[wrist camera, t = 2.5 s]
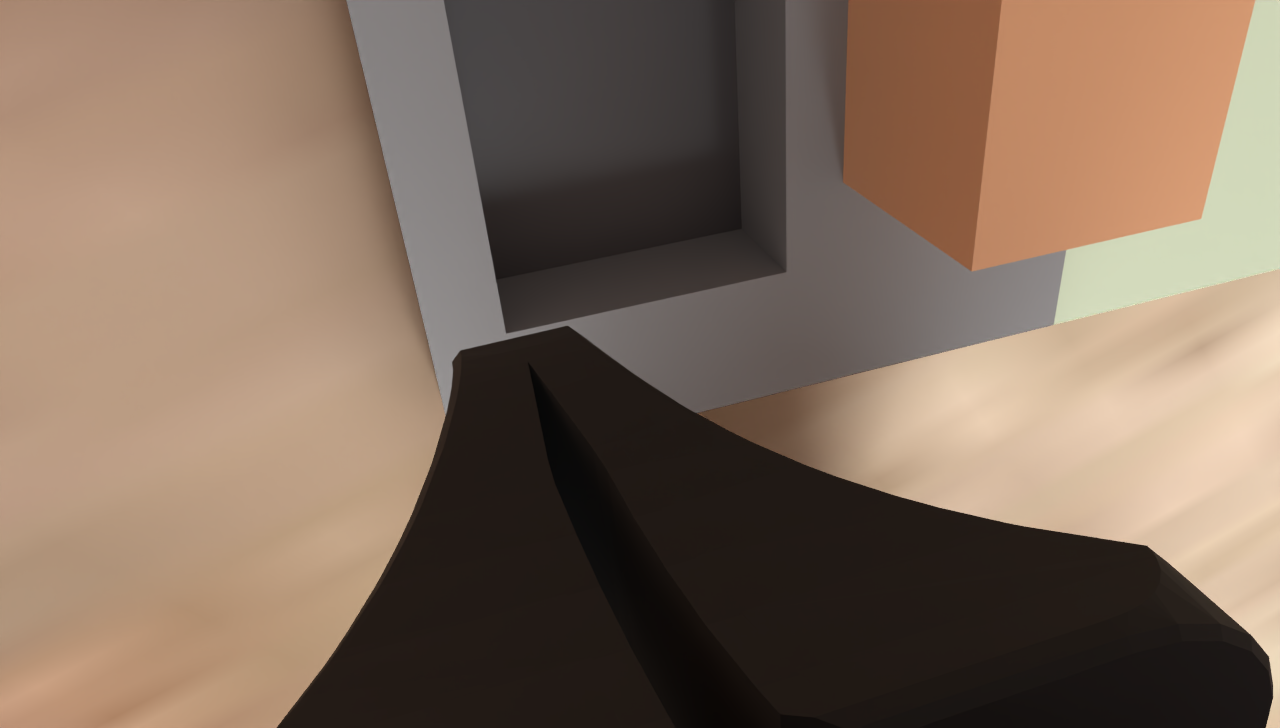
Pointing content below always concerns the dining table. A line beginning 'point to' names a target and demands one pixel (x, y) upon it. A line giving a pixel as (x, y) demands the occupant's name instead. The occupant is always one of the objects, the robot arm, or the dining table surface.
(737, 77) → the trap deck
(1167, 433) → the dining table surface
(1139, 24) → the block
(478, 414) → the robot arm
